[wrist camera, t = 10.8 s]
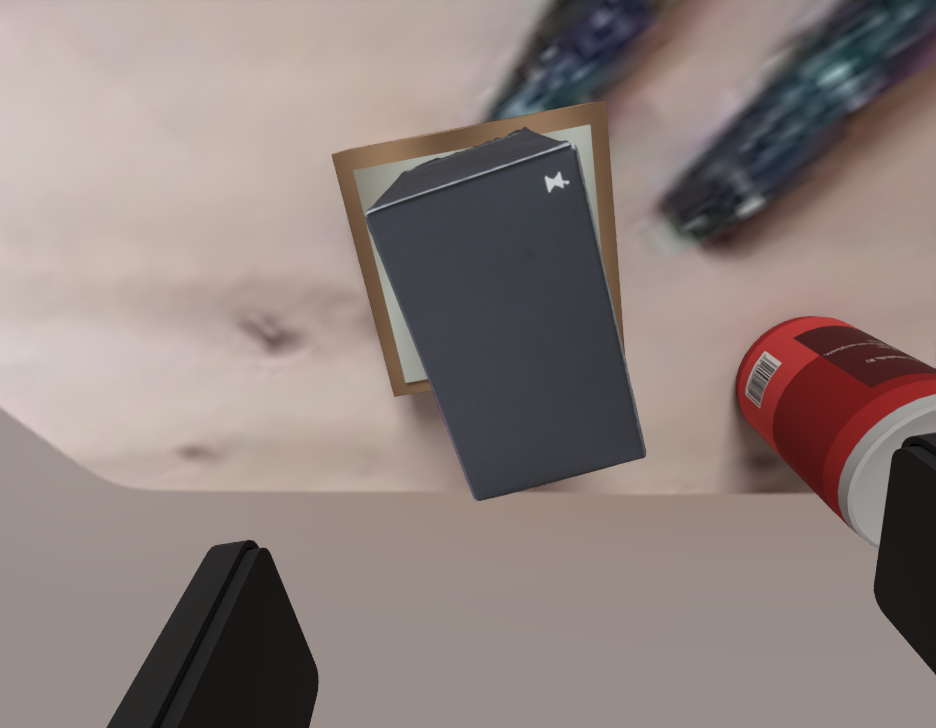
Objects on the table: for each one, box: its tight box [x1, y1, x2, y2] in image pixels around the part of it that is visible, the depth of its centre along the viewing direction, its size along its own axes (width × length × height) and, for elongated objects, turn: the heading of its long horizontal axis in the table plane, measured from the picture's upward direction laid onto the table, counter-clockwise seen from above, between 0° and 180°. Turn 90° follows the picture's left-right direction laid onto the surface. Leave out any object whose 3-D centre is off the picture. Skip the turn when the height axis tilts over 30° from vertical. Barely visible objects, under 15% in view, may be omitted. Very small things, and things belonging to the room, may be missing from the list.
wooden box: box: [332, 101, 625, 397], centre depth 29 cm, size 12×12×4 cm
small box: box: [365, 127, 646, 501], centre depth 22 cm, size 11×6×10 cm, turn 18°
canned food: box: [736, 316, 936, 548], centre depth 29 cm, size 8×8×11 cm
